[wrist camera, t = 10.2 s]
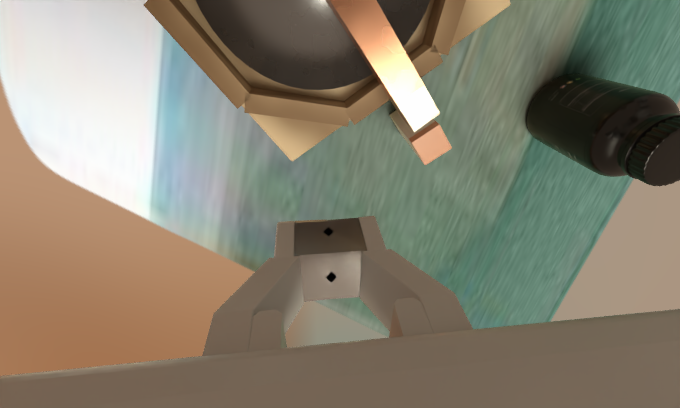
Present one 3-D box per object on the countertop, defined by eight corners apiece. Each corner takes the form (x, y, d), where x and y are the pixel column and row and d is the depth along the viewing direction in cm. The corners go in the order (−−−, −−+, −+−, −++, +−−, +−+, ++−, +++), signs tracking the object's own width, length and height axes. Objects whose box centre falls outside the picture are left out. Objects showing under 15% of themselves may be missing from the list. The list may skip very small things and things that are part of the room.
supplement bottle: (594, 118, 33) (725, 171, 23) (530, 151, 34) (628, 215, 24) (589, 55, 29) (741, 86, 19) (517, 95, 31) (626, 144, 21)
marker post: (411, 99, 30) (439, 124, 24) (422, 119, 31) (451, 148, 25) (389, 115, 30) (411, 142, 24) (401, 134, 31) (425, 165, 26)
